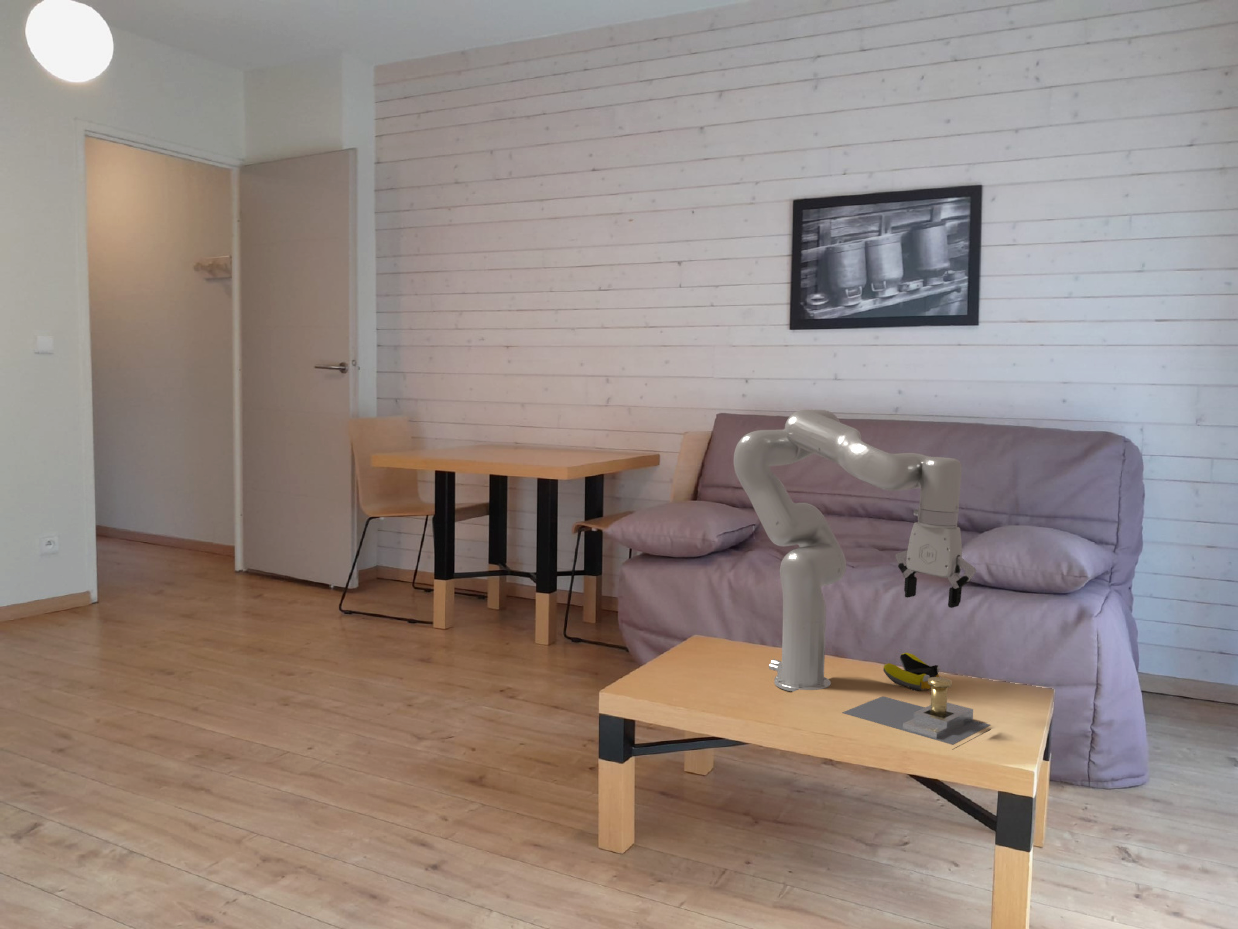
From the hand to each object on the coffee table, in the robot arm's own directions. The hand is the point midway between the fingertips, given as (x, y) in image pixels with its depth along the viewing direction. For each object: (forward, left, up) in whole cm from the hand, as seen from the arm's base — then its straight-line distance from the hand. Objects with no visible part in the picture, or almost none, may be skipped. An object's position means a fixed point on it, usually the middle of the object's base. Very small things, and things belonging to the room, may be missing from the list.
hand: (931, 601), depth 193 cm
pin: (+5, -5, -23) cm, 24 cm away
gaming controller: (-14, +19, -25) cm, 34 cm away
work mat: (0, -5, -24) cm, 25 cm away
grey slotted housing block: (+5, -5, -23) cm, 24 cm away
